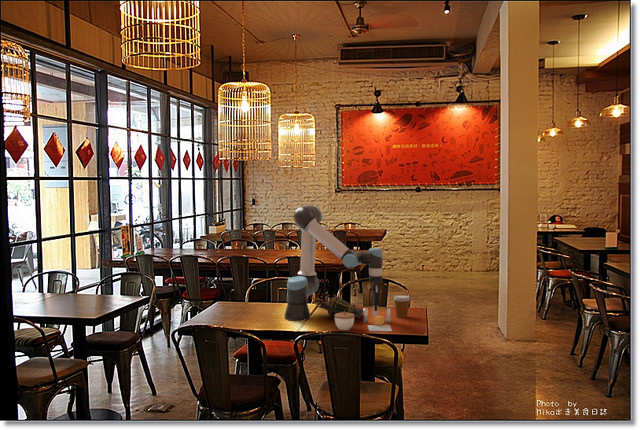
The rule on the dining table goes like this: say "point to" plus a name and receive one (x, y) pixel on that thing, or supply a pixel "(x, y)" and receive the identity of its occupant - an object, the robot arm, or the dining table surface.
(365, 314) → the post left
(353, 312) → the lantern
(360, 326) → the dining table surface
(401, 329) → the dining table surface
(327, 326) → the dining table surface
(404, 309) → the disposable coffee cup
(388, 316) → the post right
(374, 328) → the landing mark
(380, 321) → the ball
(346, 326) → the lidded jar
